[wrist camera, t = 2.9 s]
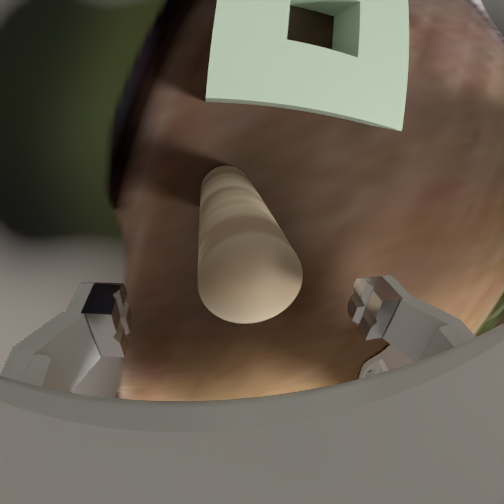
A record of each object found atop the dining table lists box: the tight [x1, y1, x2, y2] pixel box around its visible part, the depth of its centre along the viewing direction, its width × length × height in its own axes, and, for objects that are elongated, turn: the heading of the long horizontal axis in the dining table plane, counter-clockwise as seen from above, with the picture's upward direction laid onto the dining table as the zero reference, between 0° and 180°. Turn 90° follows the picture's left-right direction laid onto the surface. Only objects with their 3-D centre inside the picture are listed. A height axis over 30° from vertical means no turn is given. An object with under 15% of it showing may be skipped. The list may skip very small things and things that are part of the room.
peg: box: [198, 166, 303, 324], centre depth 16 cm, size 4×4×13 cm
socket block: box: [206, 0, 409, 131], centre depth 14 cm, size 14×14×4 cm
